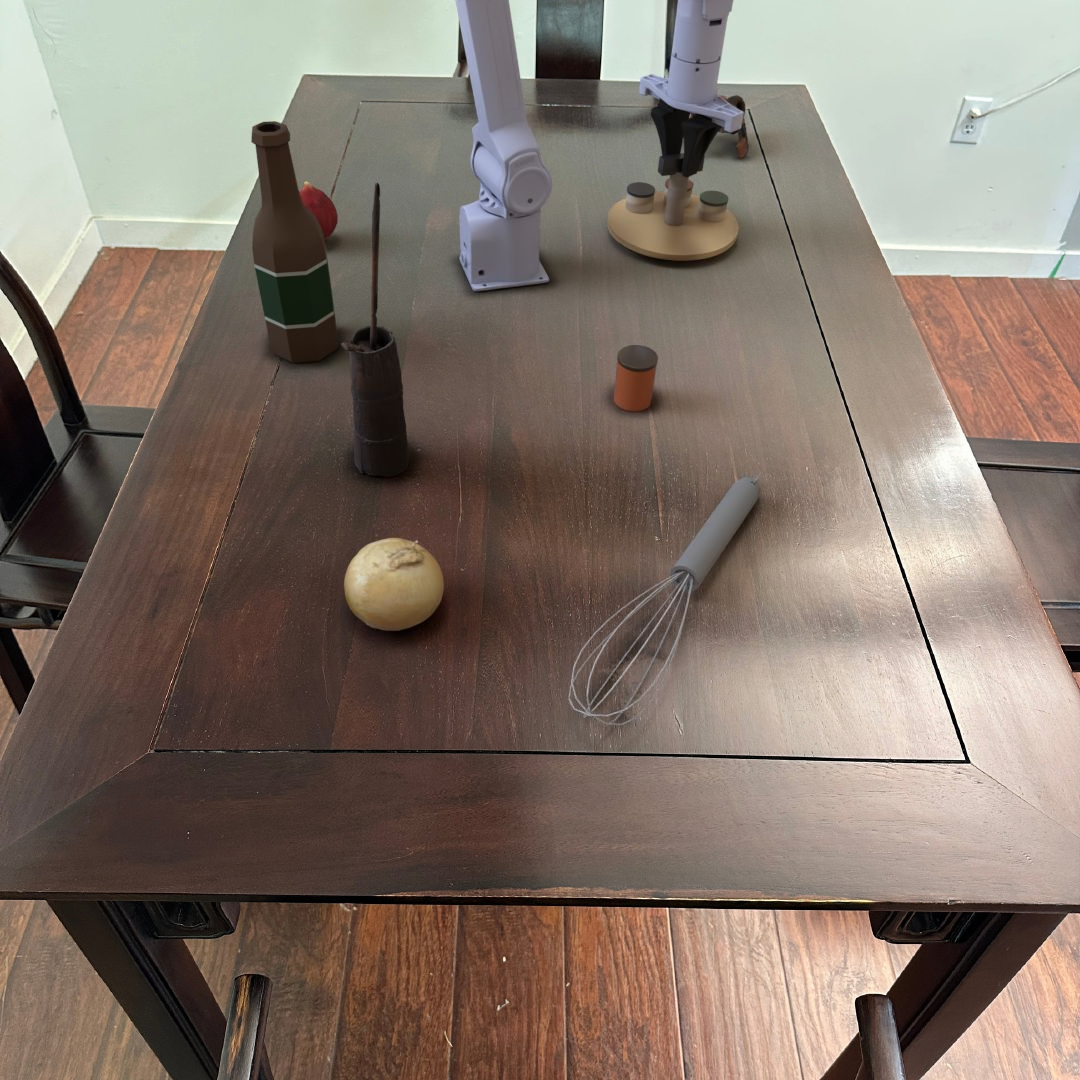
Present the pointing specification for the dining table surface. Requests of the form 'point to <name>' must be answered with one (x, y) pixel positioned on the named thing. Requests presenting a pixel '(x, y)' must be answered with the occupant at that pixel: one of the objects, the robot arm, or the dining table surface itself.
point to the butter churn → (377, 386)
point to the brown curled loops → (742, 133)
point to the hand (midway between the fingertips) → (680, 170)
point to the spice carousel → (673, 217)
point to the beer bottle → (290, 256)
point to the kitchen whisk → (683, 580)
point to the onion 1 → (320, 208)
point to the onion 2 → (393, 584)
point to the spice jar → (635, 377)
